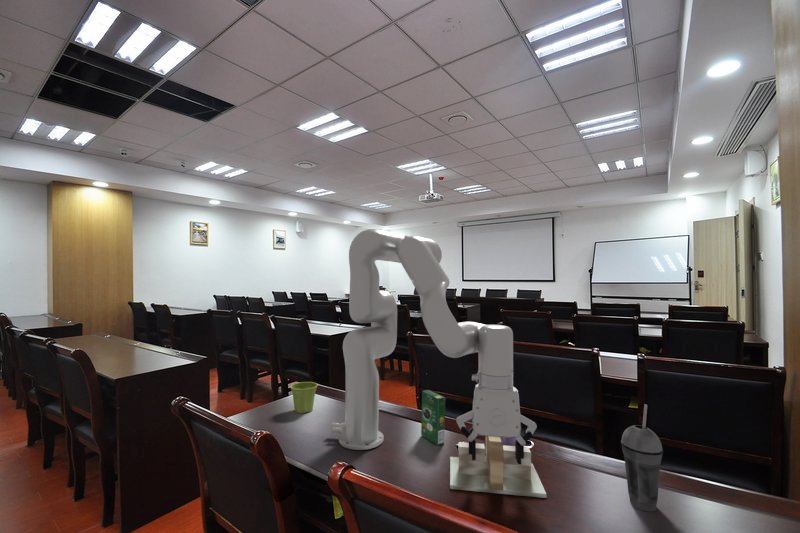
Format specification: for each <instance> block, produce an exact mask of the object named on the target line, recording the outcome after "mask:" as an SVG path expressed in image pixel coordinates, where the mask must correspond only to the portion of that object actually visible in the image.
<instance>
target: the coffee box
mask: <svg viewBox="0 0 800 533" xmlns="http://www.w3.org/2000/svg"><path fill="white" fill-rule="evenodd" d="M420 421H421V431H420V432H421V433H420V434H421V437H423V438H424V439H426V440H428V441H430V442H431V443H432V444H434V445H436V446H441V445H445V426H446V422H445V421H446V397H445V396H443V395H441V394H438V393H437V392H434V391H432V390H430V389H426V390H421V420H420Z"/></svg>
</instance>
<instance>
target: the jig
mask: <svg viewBox="0 0 800 533" xmlns="http://www.w3.org/2000/svg"><path fill="white" fill-rule="evenodd" d="M449 460H450V462H449V464H450V465H449V469H450V470H449V489H450V490H459V491H460V490H461V491H471V492H477V493H478V492H481V493H490V494H502V495H511V496H512V495H513V496H521V497H533V498H543V499H544V498H545V499H547V497H548V496H547V492H546V490H545V488H544V485H543V484H542V482H541V479H540V476H539V474H538V472H537V470H536V469H535V466H534V464H533V463H532V452H531V450H530V447H529V446H524V459H521V464H518V463H517V461H516V458H515V446H506V445H503V491H502V490H491V488H490V483H489V464H488V459H487V457H485V443H478V442H476V460H475V461H474V460H472V455H471V454H469V442H466V441H458V456H450V457H449Z"/></svg>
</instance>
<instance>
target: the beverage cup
mask: <svg viewBox="0 0 800 533" xmlns="http://www.w3.org/2000/svg"><path fill="white" fill-rule="evenodd" d="M647 413H648V404H645V403H644V406H643V416H642V425H639V424H634V425H631V426H628V427H627V428H626V429H625V430H624V431H623V433H622V435H621V440H620V444H621V449H622V453H623V458H624V466H625V474H626V476H625V477H626V483H627V491H628V492H627V493H628V497H629V502H630V504H631V505H632V506H633V507H635V508H637V509H639V510H642V511H645V512H655V511H657V505H658V497H659V486H660V484H659V483H660V471H661V462H662V459H663V454H664V449H663V445H662V441H661V439H660V438H659V436H658V435H657V434H656V433H655V431H653V430H652V429H651V428H648V427H646V426H647Z"/></svg>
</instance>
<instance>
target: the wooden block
mask: <svg viewBox="0 0 800 533" xmlns="http://www.w3.org/2000/svg"><path fill="white" fill-rule="evenodd" d="M484 437H485V443H484V446H485V457H487V459H488V464H489V483H490V488H491V490H502V491H503V445H502V442H501V439H500V437H493V436H484Z"/></svg>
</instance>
